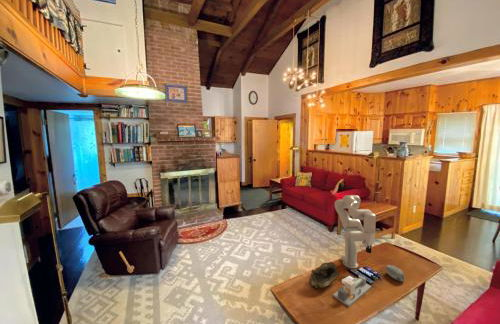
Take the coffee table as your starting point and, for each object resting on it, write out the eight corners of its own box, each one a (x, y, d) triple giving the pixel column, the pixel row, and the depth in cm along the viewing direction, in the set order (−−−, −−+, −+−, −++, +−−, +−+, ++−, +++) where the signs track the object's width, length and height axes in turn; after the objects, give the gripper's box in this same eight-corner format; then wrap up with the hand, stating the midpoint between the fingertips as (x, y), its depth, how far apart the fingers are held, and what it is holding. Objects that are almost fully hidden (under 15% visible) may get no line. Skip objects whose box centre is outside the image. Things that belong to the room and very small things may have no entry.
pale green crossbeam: (341, 294, 143) (341, 291, 142) (360, 279, 157) (360, 277, 157) (344, 296, 141) (344, 293, 140) (363, 281, 155) (363, 278, 155)
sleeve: (344, 291, 147) (344, 281, 146) (348, 288, 150) (348, 278, 149) (351, 295, 143) (351, 285, 142) (354, 292, 146) (355, 282, 145)
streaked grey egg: (410, 278, 156) (403, 267, 157) (401, 286, 155) (394, 274, 155) (395, 271, 170) (389, 261, 170) (387, 278, 168) (380, 267, 169)
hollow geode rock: (334, 281, 167) (325, 262, 176) (345, 277, 158) (334, 258, 166) (309, 293, 155) (300, 272, 163) (318, 290, 146) (308, 268, 154)
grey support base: (333, 296, 146) (333, 286, 145) (355, 279, 162) (355, 270, 161) (349, 307, 136) (349, 297, 135) (371, 288, 152) (371, 278, 151)
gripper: (369, 224, 157) (368, 247, 159) (358, 230, 149) (358, 253, 151) (379, 228, 151) (378, 251, 153) (369, 234, 143) (368, 258, 145)
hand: (368, 252), depth 152 cm, fingers closed
